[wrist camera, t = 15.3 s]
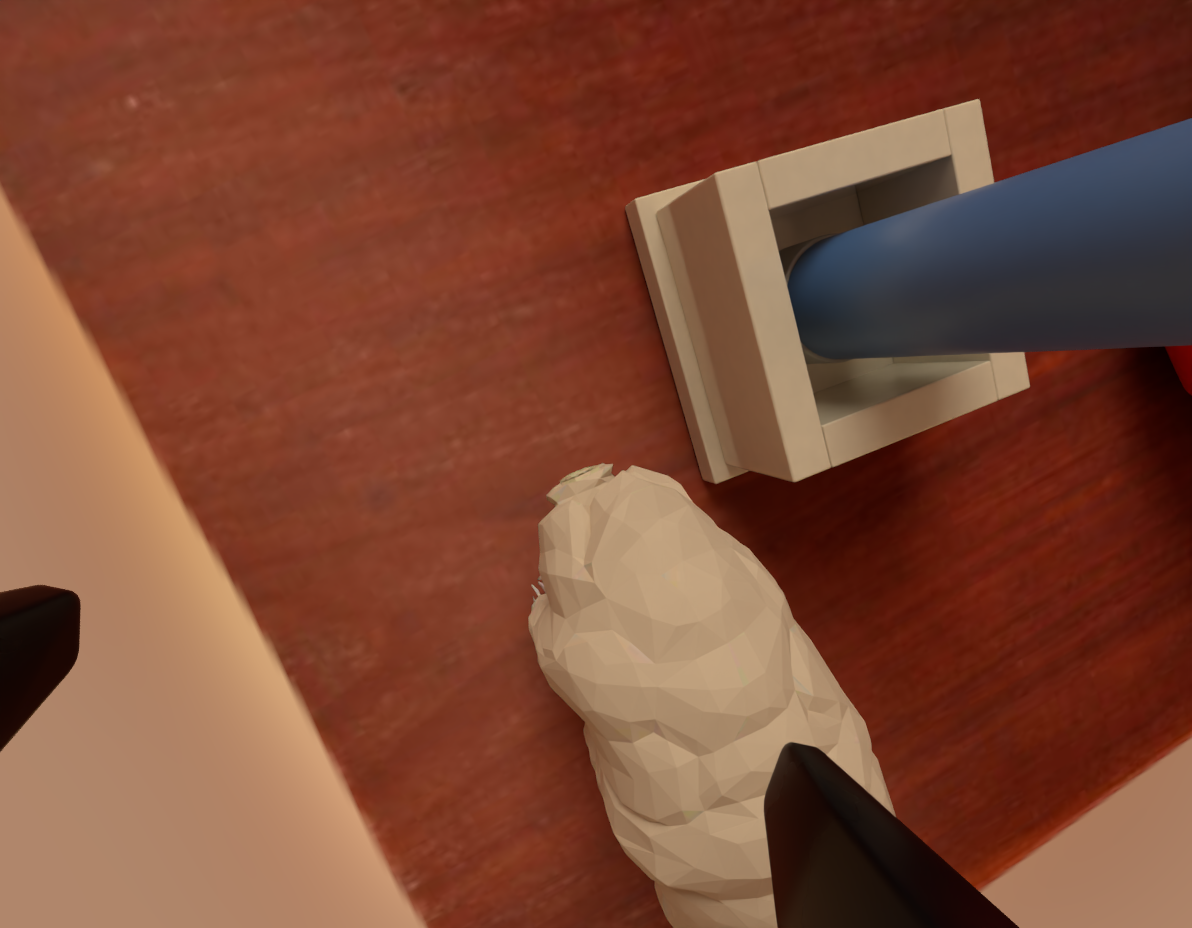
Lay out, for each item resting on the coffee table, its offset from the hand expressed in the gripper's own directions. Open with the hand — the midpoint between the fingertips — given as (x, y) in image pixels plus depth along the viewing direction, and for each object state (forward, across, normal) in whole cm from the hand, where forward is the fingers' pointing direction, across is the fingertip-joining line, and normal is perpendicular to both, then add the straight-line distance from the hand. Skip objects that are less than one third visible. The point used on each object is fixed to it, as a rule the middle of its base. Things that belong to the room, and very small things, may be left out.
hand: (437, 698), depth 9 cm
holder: (+16, -7, -6) cm, 18 cm away
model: (+13, -6, +7) cm, 16 cm away
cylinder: (+15, -7, -6) cm, 18 cm away
